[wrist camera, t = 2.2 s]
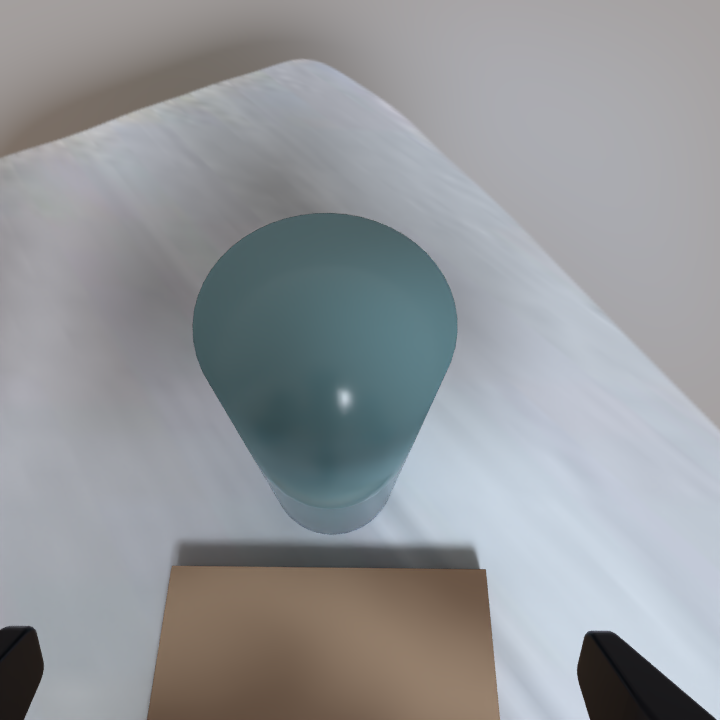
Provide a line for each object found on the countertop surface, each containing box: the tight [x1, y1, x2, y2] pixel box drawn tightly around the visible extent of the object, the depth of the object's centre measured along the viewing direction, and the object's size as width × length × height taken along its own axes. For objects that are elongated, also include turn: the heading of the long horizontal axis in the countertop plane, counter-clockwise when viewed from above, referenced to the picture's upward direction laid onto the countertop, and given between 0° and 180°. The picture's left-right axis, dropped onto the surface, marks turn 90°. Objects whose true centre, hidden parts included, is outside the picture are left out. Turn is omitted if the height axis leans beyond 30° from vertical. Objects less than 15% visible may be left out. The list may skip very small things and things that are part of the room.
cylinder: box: [193, 213, 457, 535], centre depth 16 cm, size 5×5×13 cm
